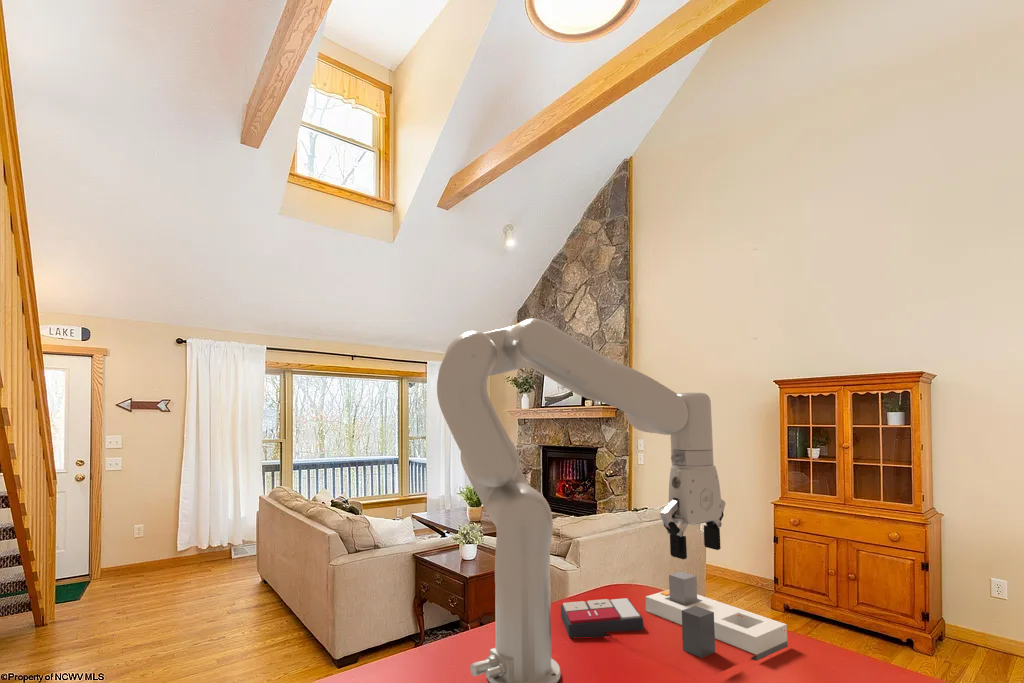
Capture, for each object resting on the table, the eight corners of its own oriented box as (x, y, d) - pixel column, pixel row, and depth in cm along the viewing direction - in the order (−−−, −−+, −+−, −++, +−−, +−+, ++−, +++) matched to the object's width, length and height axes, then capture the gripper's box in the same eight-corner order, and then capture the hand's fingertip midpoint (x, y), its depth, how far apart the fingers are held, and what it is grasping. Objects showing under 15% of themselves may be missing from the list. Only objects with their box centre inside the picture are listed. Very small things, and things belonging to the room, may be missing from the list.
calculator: (559, 601, 126) (628, 595, 127) (561, 621, 126) (629, 615, 127) (568, 621, 115) (643, 614, 116) (569, 643, 115) (644, 636, 116)
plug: (701, 664, 104) (699, 617, 104) (683, 655, 107) (681, 610, 108) (715, 658, 106) (713, 612, 107) (697, 650, 109) (695, 605, 110)
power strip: (756, 660, 105) (755, 635, 105) (646, 615, 126) (645, 595, 126) (787, 646, 110) (786, 622, 111) (676, 605, 132) (676, 585, 132)
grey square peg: (685, 619, 121) (684, 579, 122) (670, 613, 124) (668, 574, 125) (697, 615, 123) (696, 575, 124) (682, 609, 127) (681, 571, 127)
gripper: (677, 464, 101) (681, 566, 100) (737, 456, 111) (742, 549, 110) (645, 460, 108) (648, 556, 106) (704, 453, 117) (708, 541, 116)
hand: (695, 552), depth 108 cm, fingers open, 9 cm apart
